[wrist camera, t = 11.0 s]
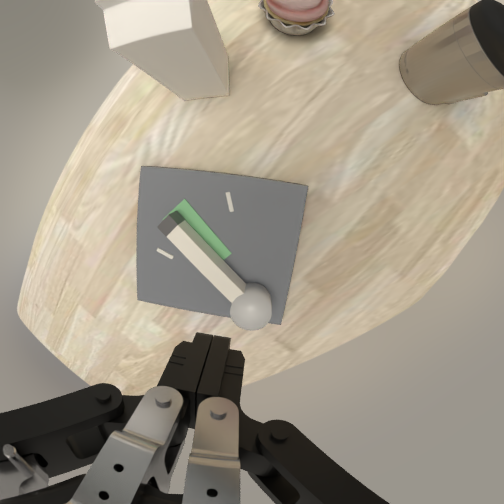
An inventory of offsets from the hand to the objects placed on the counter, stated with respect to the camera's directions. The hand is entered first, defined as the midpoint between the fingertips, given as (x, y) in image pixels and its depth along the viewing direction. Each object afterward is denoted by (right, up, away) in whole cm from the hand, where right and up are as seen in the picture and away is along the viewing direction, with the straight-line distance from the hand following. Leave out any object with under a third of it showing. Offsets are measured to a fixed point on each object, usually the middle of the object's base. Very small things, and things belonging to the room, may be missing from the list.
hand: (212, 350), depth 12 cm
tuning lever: (-2, +3, +23) cm, 24 cm away
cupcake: (+7, +36, +15) cm, 39 cm away
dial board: (-3, +5, +25) cm, 25 cm away
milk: (-4, +27, +18) cm, 32 cm away
